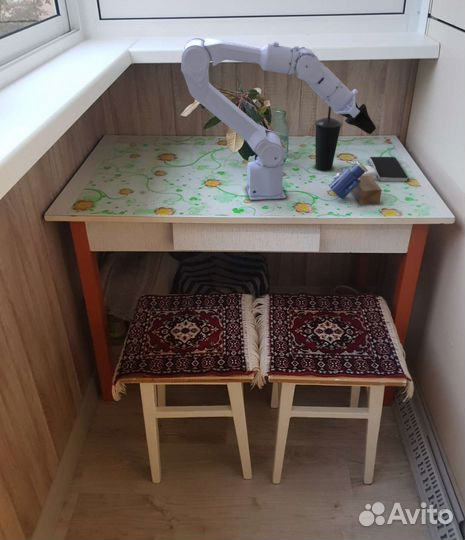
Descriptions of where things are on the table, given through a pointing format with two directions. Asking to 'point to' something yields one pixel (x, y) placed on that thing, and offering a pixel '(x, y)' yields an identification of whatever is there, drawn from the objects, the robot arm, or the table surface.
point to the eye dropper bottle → (370, 172)
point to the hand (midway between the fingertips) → (367, 127)
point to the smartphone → (388, 169)
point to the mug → (348, 180)
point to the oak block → (367, 191)
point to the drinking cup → (326, 141)
